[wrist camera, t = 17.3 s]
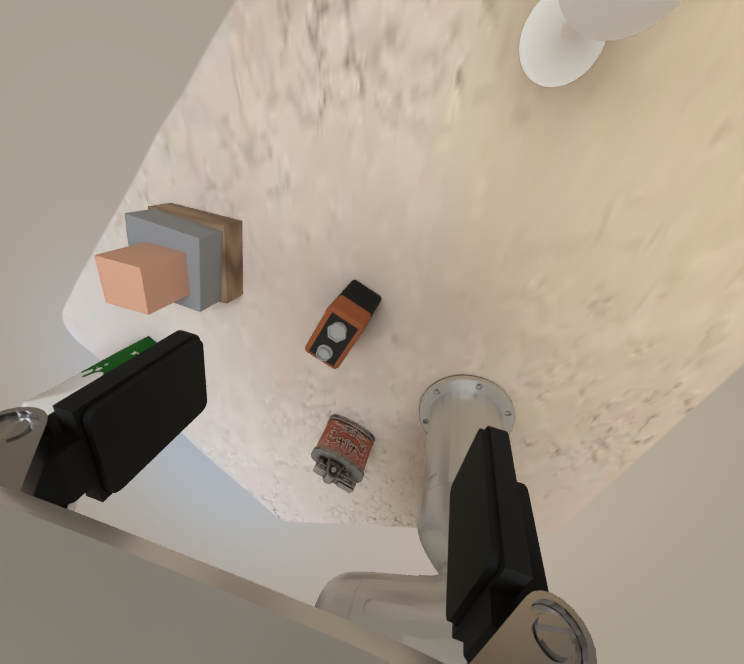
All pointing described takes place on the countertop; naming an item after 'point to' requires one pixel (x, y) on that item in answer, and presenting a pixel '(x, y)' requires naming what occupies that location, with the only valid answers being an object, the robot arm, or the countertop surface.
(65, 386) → the milk carton
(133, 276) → the pillar block
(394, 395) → the countertop surface
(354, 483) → the lighter
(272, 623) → the robot arm
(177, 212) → the tower base
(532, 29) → the champagne flute
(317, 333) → the battery
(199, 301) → the tower top
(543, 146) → the countertop surface
